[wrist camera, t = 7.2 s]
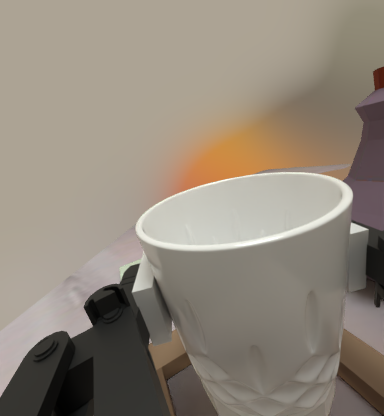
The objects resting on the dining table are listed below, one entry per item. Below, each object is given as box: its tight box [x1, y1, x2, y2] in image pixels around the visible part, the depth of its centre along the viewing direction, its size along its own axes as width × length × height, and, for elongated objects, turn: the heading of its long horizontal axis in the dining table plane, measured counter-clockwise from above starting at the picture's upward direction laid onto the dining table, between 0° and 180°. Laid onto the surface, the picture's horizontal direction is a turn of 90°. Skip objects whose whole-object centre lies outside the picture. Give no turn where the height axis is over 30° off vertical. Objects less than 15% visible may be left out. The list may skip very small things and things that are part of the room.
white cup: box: [135, 172, 353, 416], centre depth 9 cm, size 8×8×10 cm
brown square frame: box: [148, 328, 384, 416], centre depth 12 cm, size 16×16×2 cm
